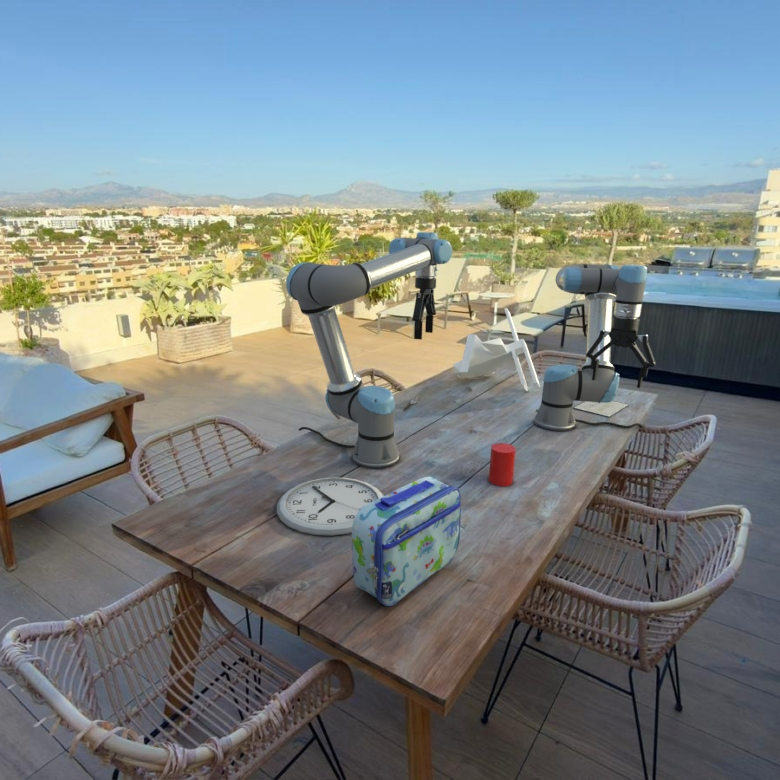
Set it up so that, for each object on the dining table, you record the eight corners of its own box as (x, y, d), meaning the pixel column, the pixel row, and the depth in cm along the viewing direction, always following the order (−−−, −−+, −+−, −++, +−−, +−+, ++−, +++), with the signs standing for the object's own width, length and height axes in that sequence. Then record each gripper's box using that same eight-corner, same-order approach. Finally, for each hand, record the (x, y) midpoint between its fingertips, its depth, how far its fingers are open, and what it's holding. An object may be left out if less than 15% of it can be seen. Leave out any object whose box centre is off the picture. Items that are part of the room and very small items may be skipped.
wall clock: (392, 527, 129) (268, 531, 127) (391, 533, 130) (269, 537, 127) (383, 473, 158) (282, 475, 155) (383, 478, 158) (282, 480, 156)
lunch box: (381, 619, 101) (382, 525, 95) (345, 592, 109) (344, 503, 102) (464, 563, 119) (469, 480, 113) (428, 543, 126) (432, 464, 120)
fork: (400, 411, 216) (400, 406, 215) (412, 399, 230) (412, 395, 230) (406, 412, 215) (406, 407, 215) (418, 400, 230) (418, 396, 229)
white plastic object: (474, 420, 264) (452, 397, 239) (456, 347, 286) (434, 319, 261) (545, 396, 252) (530, 369, 227) (521, 322, 274) (504, 290, 249)
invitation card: (608, 416, 214) (573, 407, 224) (608, 416, 214) (573, 408, 224) (628, 404, 229) (594, 396, 238) (628, 405, 229) (594, 397, 238)
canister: (513, 487, 155) (517, 453, 151) (489, 485, 155) (492, 451, 152) (511, 476, 161) (514, 443, 158) (487, 474, 162) (490, 442, 159)
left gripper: (425, 280, 174) (423, 343, 181) (445, 275, 197) (442, 330, 203) (404, 279, 177) (402, 341, 183) (426, 274, 199) (423, 329, 205)
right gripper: (581, 314, 164) (573, 378, 171) (669, 323, 151) (656, 393, 157) (588, 311, 170) (579, 373, 176) (673, 319, 156) (661, 387, 163)
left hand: (423, 335), depth 193 cm, fingers open, 13 cm apart
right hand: (616, 383), depth 167 cm, fingers open, 13 cm apart
